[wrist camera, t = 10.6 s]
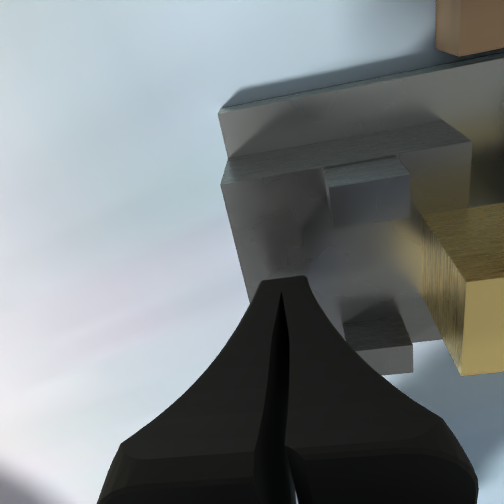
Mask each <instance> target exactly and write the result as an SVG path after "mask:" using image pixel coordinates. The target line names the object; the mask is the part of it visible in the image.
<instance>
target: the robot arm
mask: <svg viewBox="0 0 504 504" xmlns="http://www.w3.org/2000/svg"><path fill="white" fill-rule="evenodd" d="M478 490H479V488H478V479H477V476H476V474H475V471H474V469H473V466H472V465H471V463H470V461H469V459H468V457H467V455H466V453H465V452H464V450H463V448H462V447H461V445H460V443H459V442H458V440H457V439H456V437H455V436H454V434H453V433H452V431H451V430H450V428H449V427H448V426H447V424H446V423H445V421H444V420H443V419H442V418H441V417H439V416H437V415H436V414H434V413H433V412H431V411H429V410H428V409H426V408H425V407H423V406H421V405H420V404H418V403H417V402H415V401H414V400H412V399H411V398H409V397H408V396H407V395H405V394H404V393H402V392H401V391H400V390H398V389H397V388H396V387H394V386H393V385H392V384H391V383H390V382H388V381H387V380H386V379H385V378H384V377H382V376H381V375H380V374H379V373H378V372H376V371H375V370H374V369H373V368H372V367H371V366H369V365H368V364H367V363H366V362H365V361H364V360H363V359H362V358H361V357H360V356H359V355H358V354H357V353H356V352H355V351H354V350H353V349H352V347H351V346H350V345H349V344H348V343H347V342H346V341H345V340H344V338H343V337H342V336H341V335H340V334H339V332H338V331H337V330H336V328H335V327H334V326H333V325H332V323H331V322H330V320H329V319H328V318H327V316H326V315H325V313H324V311H323V310H322V308H321V307H320V305H319V304H318V302H317V300H316V298H315V296H314V295H313V293H312V290H311V288H310V286H309V283H308V278H307V277H305V276H304V275H300V276H293V277H285V278H277V279H269V280H262V281H261V282H260V284H259V285H258V288H257V290H256V293H255V295H254V297H253V299H252V301H251V303H250V305H249V307H248V309H247V311H246V312H245V314H244V316H243V318H242V320H241V321H240V323H239V325H238V326H237V328H236V330H235V331H234V333H233V334H232V336H231V337H230V339H229V340H228V342H227V343H226V345H225V346H224V348H223V349H222V350H221V352H220V353H219V355H218V356H217V357H216V358H215V360H214V361H213V362H212V363H211V365H210V366H209V367H208V368H207V370H206V371H205V372H204V373H203V374H202V375H201V376H200V377H199V378H198V380H197V381H196V382H195V383H194V384H193V385H192V386H191V387H190V388H189V389H188V390H187V391H186V392H185V393H184V394H183V395H182V396H181V397H180V398H179V399H177V400H176V401H175V402H174V403H173V404H172V405H171V406H170V407H168V408H167V409H166V410H165V411H164V412H162V413H161V414H160V415H159V416H158V417H156V418H155V419H154V420H153V421H151V422H150V423H149V424H147V425H146V426H145V427H143V428H142V429H140V430H139V431H138V432H136V433H135V434H134V435H132V436H131V437H130V438H128V439H127V440H125V441H124V442H122V443H121V444H120V446H119V449H118V451H117V453H116V455H115V457H114V459H113V461H112V464H111V466H110V468H109V471H108V473H107V476H106V479H105V482H104V485H103V488H102V490H101V493H100V496H99V499H98V502H97V504H477V498H478Z"/></svg>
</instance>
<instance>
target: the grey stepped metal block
mask: <svg viewBox="0 0 504 504" xmlns="http://www.w3.org/2000/svg"><path fill="white" fill-rule="evenodd" d="M218 117H219V121H220V126H221V130H222V134H223V139H224V143H225V147H226V151H227V156H228V161H227V164H226V167H225V171H224V174H223V178H222V181H221V184H220V185H221V189H222V193H223V197H224V201H225V205H226V209H227V213H228V217H229V221H230V225H231V229H232V233H233V237H234V242H235V246H236V250H237V254H238V258H239V262H240V266H241V270H242V274H243V278H244V282H245V286H246V290H247V294H248V298H249V302H250V303H251V301H252V299H253V297H254V295H255V293H256V290H257V288H258V285H259V284H260V282H261V281H262V280H269V279H277V278H285V277H293V276H300V275H304V276H305V277H307V278H308V283H309V286H310V288H311V290H312V293H313V295H314V296H315V298H316V300H317V302H318V304H319V305H320V307H321V308H322V310H323V311H324V313H325V315H326V316H327V318H328V319H329V320H330V322H331V323H332V325H333V326H334V327H335V328H336V330H337V331H338V332H339V334H340V335H341V336H342V337H343V338H344V340H345V341H346V342H347V343H348V344H349V345H350V346H351V347H352V349H353V350H354V351H355V352H356V353H357V354H358V355H359V356H360V357H361V358H362V359H363V360H364V361H365V362H366V363H367V364H368V365H369V366H371V367H372V368H373V369H374V370H375V371H376V372H378V373H379V374H380V375H391V374H401V373H410V372H413V344H412V343H414V342H423V341H431V340H440V339H443V338H442V336H441V334H440V332H439V330H438V328H437V326H436V324H435V322H434V320H433V318H432V316H431V314H430V312H429V310H428V308H427V306H426V304H425V302H424V300H423V298H422V231H421V215H425V214H432V213H438V212H445V211H452V210H458V209H465V208H471V207H478V206H484V205H491V204H498V203H504V53H499V54H494V55H489V56H484V57H479V58H474V59H469V60H464V61H459V62H454V63H449V64H444V65H439V66H433V67H428V68H423V69H418V70H413V71H408V72H403V73H398V74H393V75H388V76H383V77H378V78H373V79H368V80H362V81H357V82H352V83H347V84H342V85H337V86H332V87H327V88H322V89H317V90H312V91H307V92H302V93H297V94H291V95H286V96H281V97H276V98H271V99H266V100H261V101H256V102H251V103H246V104H241V105H236V106H231V107H225V108H220V110H219V113H218Z"/></svg>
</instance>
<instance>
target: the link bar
mask: <svg viewBox="0 0 504 504" xmlns="http://www.w3.org/2000/svg"><path fill="white" fill-rule="evenodd" d="M421 231H422V298H423V300H424V302H425V304H426V306H427V308H428V310H429V312H430V314H431V316H432V318H433V320H434V322H435V324H436V326H437V328H438V330H439V332H440V334H441V336H442V338H443V341H444V343H445V345H446V347H447V349H448V351H449V353H450V355H451V357H452V359H453V361H454V363H455V365H456V367H457V369H458V371H459V373H460V375H461V376H467V375H477V374H486V373H496V372H504V203H498V204H491V205H484V206H478V207H471V208H465V209H458V210H452V211H445V212H438V213H432V214H425V215H421Z"/></svg>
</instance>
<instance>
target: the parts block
mask: <svg viewBox="0 0 504 504" xmlns="http://www.w3.org/2000/svg"><path fill="white" fill-rule="evenodd" d="M500 48H504V0H436V49H437V50H440V51H443V52H446V53H449V54H452V55H455V56H458V57H460V56H465V55H470V54H475V53H480V52H485V51H490V50H495V49H500Z"/></svg>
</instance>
